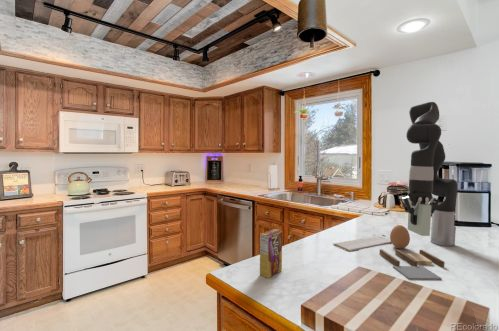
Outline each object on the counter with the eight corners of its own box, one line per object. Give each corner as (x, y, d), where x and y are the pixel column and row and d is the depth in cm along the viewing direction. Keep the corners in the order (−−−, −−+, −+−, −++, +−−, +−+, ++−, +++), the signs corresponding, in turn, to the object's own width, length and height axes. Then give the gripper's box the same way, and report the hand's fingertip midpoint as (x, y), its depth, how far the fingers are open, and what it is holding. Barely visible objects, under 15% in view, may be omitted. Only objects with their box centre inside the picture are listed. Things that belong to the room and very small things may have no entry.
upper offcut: (420, 256, 116) (420, 254, 115) (431, 264, 108) (432, 261, 107) (406, 256, 116) (406, 253, 116) (416, 263, 108) (416, 260, 108)
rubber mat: (422, 268, 105) (422, 266, 105) (441, 280, 95) (441, 278, 95) (392, 267, 104) (392, 265, 104) (408, 280, 94) (408, 277, 94)
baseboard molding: (330, 244, 132) (349, 253, 121) (330, 238, 132) (349, 246, 121) (373, 236, 146) (393, 244, 135) (373, 231, 145) (393, 238, 135)
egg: (385, 246, 129) (386, 223, 129) (398, 244, 132) (399, 222, 132) (400, 252, 121) (401, 228, 121) (413, 250, 124) (414, 226, 124)
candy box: (272, 267, 102) (273, 228, 102) (282, 270, 100) (283, 230, 99) (258, 274, 96) (259, 233, 95) (268, 278, 93) (269, 236, 92)
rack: (421, 255, 118) (422, 249, 118) (444, 267, 105) (444, 261, 105) (379, 254, 118) (379, 249, 118) (396, 267, 105) (396, 261, 105)
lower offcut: (419, 258, 116) (419, 256, 116) (434, 267, 107) (434, 264, 107) (403, 258, 116) (403, 255, 116) (417, 267, 107) (417, 264, 107)
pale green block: (415, 229, 103) (416, 201, 102) (429, 235, 95) (431, 205, 94) (407, 229, 103) (409, 201, 102) (421, 235, 95) (423, 205, 94)
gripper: (432, 178, 102) (429, 222, 103) (396, 177, 101) (394, 221, 102) (447, 179, 94) (444, 227, 95) (408, 179, 94) (406, 227, 95)
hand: (418, 224), depth 99 cm, fingers closed on pale green block, 3 cm apart
